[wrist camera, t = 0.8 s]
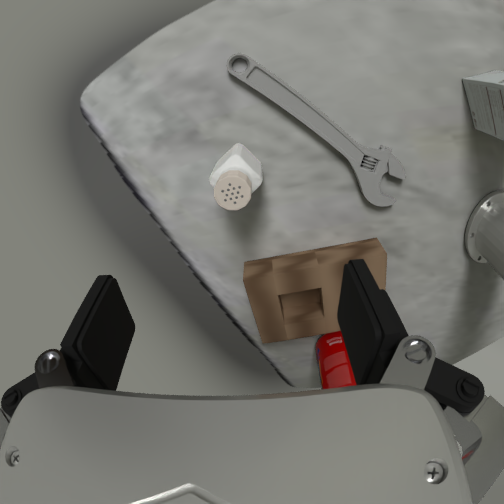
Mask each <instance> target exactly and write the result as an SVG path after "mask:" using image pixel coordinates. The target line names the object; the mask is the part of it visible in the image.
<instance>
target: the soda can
mask: <svg viewBox="0 0 504 504" xmlns="http://www.w3.org/2000/svg"><path fill="white" fill-rule="evenodd" d="M315 350H316V357H317V363H318V369H319V376H320V382H321V389H330V388H338V387H346V386H355V385H356V382H355V378H354V374H353V371H352V367H351V364H350V360H349V357H348V353H347V350H346V347H345V343H344V340H343V337H342V333H341V331H336V332H331V333H326V334H324V335H323V336H322V337H320V339H319V340H318V341H317V343H316V347H315Z"/></svg>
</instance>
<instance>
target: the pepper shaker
mask: <svg viewBox="0 0 504 504" xmlns="http://www.w3.org/2000/svg"><path fill="white" fill-rule="evenodd" d="M262 181H263V176H262V165H261V162H260V161H259V160H258V159H257V158H256V157H255V156H254V155H253V154H252V153H251V152H250V151H249V150H248V149H247V148H246V147H245V146H244V145H243V144H240V143H238V144H235V145H234V146H233V147H232V148H231V149H230V150H229V151H228V152H227V153H225V154H224V155H223V156H222V157H221V158H220V159H219V160H218V161H217V163H216V165H215V167H214V169H213V171H212V173H211V175H210V177H209V182H210V184H211V185H212V186H213V188H214V198H215V200H216V201H217V203H218V204H219V206H221V207H223V208H225V209H227V210H239V209H241V208H243V207H245V206H246V205H247V204H248V202H249V201H250V199H251V194H252V193H253V192H254V191H255V190H256V189H257V188H258V187H259V186H260V185H261V183H262Z"/></svg>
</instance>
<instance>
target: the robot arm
mask: <svg viewBox="0 0 504 504" xmlns="http://www.w3.org/2000/svg"><path fill="white" fill-rule="evenodd" d="M465 246H466V250H467V252H468V254H469V255H470V257H471V258H472V259H473V260H474V261H476V262H478V263H489V264H490V265H491V266H492V267H493V268H494V270H495V271H496V272H497V273H498V274H499V275H500V277H501V278H502V279H503V280H504V191H502V190H499V191H495V192H492V193H490V194H489V195H487V196H486V197H484V198H483V199H482V200H481V201H480V202H479V204H478V205H477V206H476V208H475V209H474V211H473V213H472V214H471V217H470V219H469V221H468V224H467V227H466V232H465ZM337 319H338V323H339V327H340V330H341V333H342V337H343V340H344V343H345V347H346V350H347V353H348V357H349V360H350V364H351V367H352V371H353V374H354V378H355V382H356V385H355V386H346V387H338V388H330V389H321V390H312V391H301V392H290V393H278V394H262V395H238V396H237V395H236V396H186V395H160V394H145V393H132V392H121V391H116V389H117V385H118V382H119V379H120V375H121V372H122V369H123V366H124V363H125V359H126V356H127V353H128V350H129V347H130V344H131V341H132V338H133V335H134V332H135V323H134V321H133V319H132V316H131V314H130V312H129V310H128V307H127V305H126V302H125V300H124V297H123V295H122V292H121V290H120V287H119V285H118V282H117V280H116V279H115V278H113V277H112V276H111V275H99V276H98V277H97V278H96V280H95V282H94V283H93V285H92V287H91V288H90V290H89V292H88V294H87V295H86V297H85V299H84V301H83V302H82V304H81V306H80V308H79V310H78V312H77V313H76V315H75V317H74V319H73V321H72V323H71V325H70V327H69V329H68V330H67V332H66V334H65V336H64V338H63V340H62V342H61V344H60V345H61V347H62V348H61V350H60V351H59V350H57V349H49V350H47V351H45V352H43V353H42V354H41V355H40V356H39V357H38V358H37V360H36V363H35V373H33V374H32V375H30V376H29V377H27V378H26V379H24V380H22V381H20V382H19V383H17V384H15V385H14V386H12V387H11V388H9V389H8V390H7V391H6V392H5V393H4V395H3V397H2V401H1V406H2V407H1V408H0V504H478V503H479V502H480V500H481V499H482V498H483V497H484V495H485V494H486V493H487V491H488V490H489V489H490V487H491V486H492V485H493V483H494V482H495V480H496V479H497V477H498V476H499V475H500V473H501V472H502V470H503V469H504V407H503V406H502V405H501V404H500V403H498V402H497V401H496V400H495V399H494V398H493V397H492V396H489V397H487V396H486V395H484V387H483V384H482V382H481V381H480V380H479V379H478V378H477V377H475V376H474V375H472V374H470V373H467V372H465V371H463V370H461V369H459V368H457V367H455V366H453V365H450V364H448V363H446V362H444V361H442V360H440V359H438V358H436V357H435V356H436V351H435V348H434V346H433V344H432V343H431V342H430V341H429V340H427V339H426V338H424V337H421V336H417V335H411V336H408V334H407V332H406V329H405V327H404V325H403V323H402V321H401V319H400V317H399V315H398V313H397V311H396V309H395V307H394V306H393V304H392V302H391V300H390V298H389V296H388V294H387V292H386V291H385V290H384V289H379V287H378V285H377V283H376V281H375V279H374V277H373V275H372V273H371V272H370V270H369V268H368V266H367V264H366V262H365V261H364V259H354V260H349V262H348V264H345V265H344V269H343V277H342V284H341V291H340V298H339V305H338V311H337ZM454 435H455V436H454ZM456 440H457V441H458V442H459V443H460V445H461V446H462V450H463V455H462V457H461V454H460V451H459V448H458V445H457V442H456Z"/></svg>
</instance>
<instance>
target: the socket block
mask: <svg viewBox="0 0 504 504" xmlns="http://www.w3.org/2000/svg"><path fill="white" fill-rule="evenodd" d="M354 259H364V261H365V262H366V264H367V266H368V268H369V270H370V272H371V273H372V275H373V277H374V279H375V281H376V283H377V285H378V287H379V289H384V290H385V286H386V267H387V253H386V252H385V250H384V248H383V247H382V245H381V244H380V242H379V240H378V239H377V238H373V239H368V240H362V241H357V242H351V243H346V244H341V245H335V246H330V247H325V248H319V249H314V250H308V251H303V252H297V253H292V254H286V255H281V256H275V257H270V258H264V259H259V260H253V261H247V262H244V274H243V282H244V285H245V288H246V292H247V295H248V298H249V301H250V304H251V308H252V311H253V314H254V317H255V320H256V324H257V327H258V330H259V333H260V336H261V339H262V343H263V344H264V343H271V342H278V341H284V340H291V339H297V338H303V337H309V336H314V335H320V334H325V333H331V332H336V331H341V330H340V327H339V323H338V319H337V311H338V305H339V298H340V291H341V284H342V277H343V269H344V265H345V264H348V262H349V260H354Z"/></svg>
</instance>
